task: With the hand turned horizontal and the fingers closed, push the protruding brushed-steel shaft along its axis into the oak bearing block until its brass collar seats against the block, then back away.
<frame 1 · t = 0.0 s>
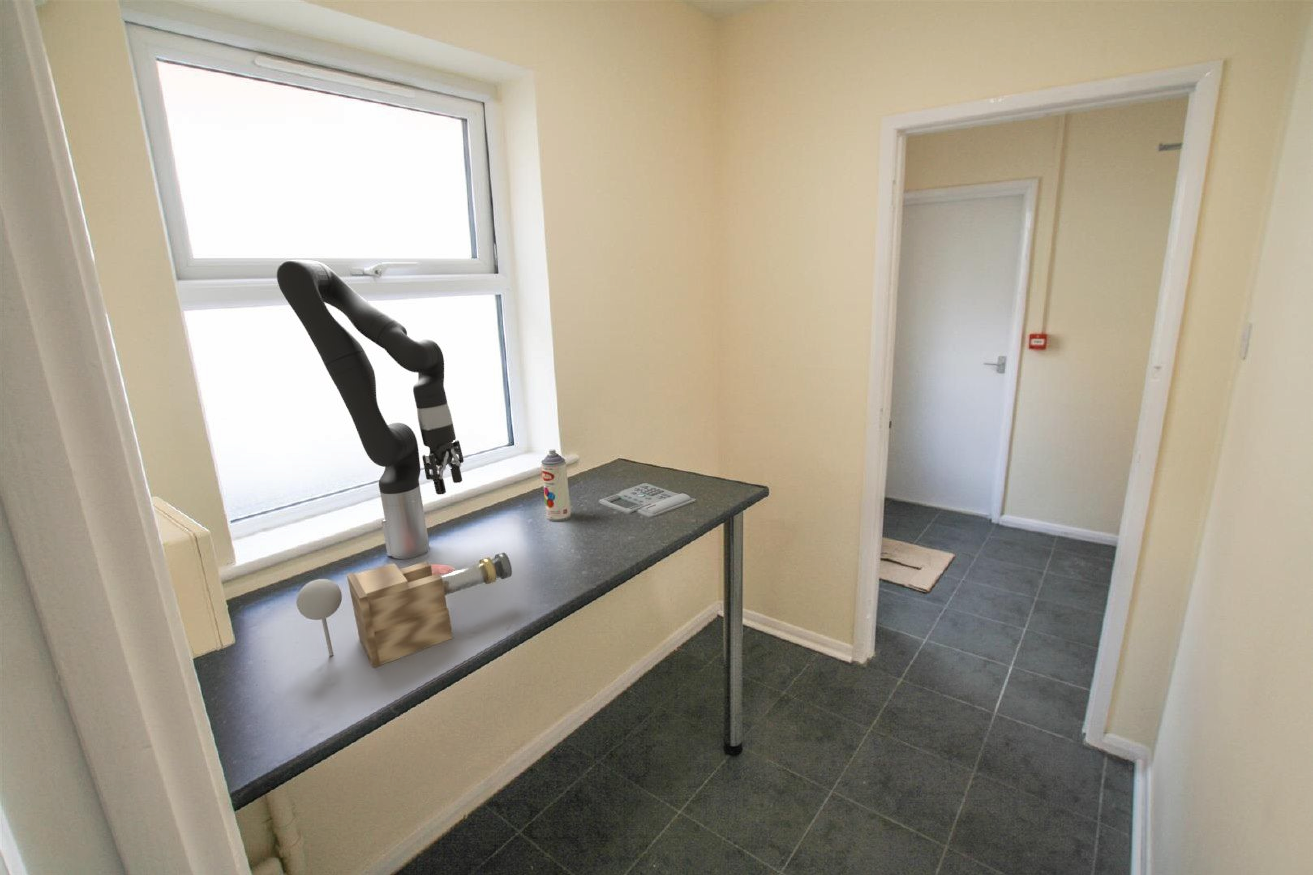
hand: (449, 487, 149), 17 cm above the counter, tool pointing down, fingers open, 8 cm apart
bearing block: (411, 636, 116), on the counter
cloth: (403, 588, 138), on the counter
lollipop: (331, 656, 112), on the counter
shaft: (465, 577, 121), point 8 cm above the counter, slide at 9.0 cm
office telephone: (646, 503, 182), on the counter
aerosol can: (559, 517, 173), on the counter
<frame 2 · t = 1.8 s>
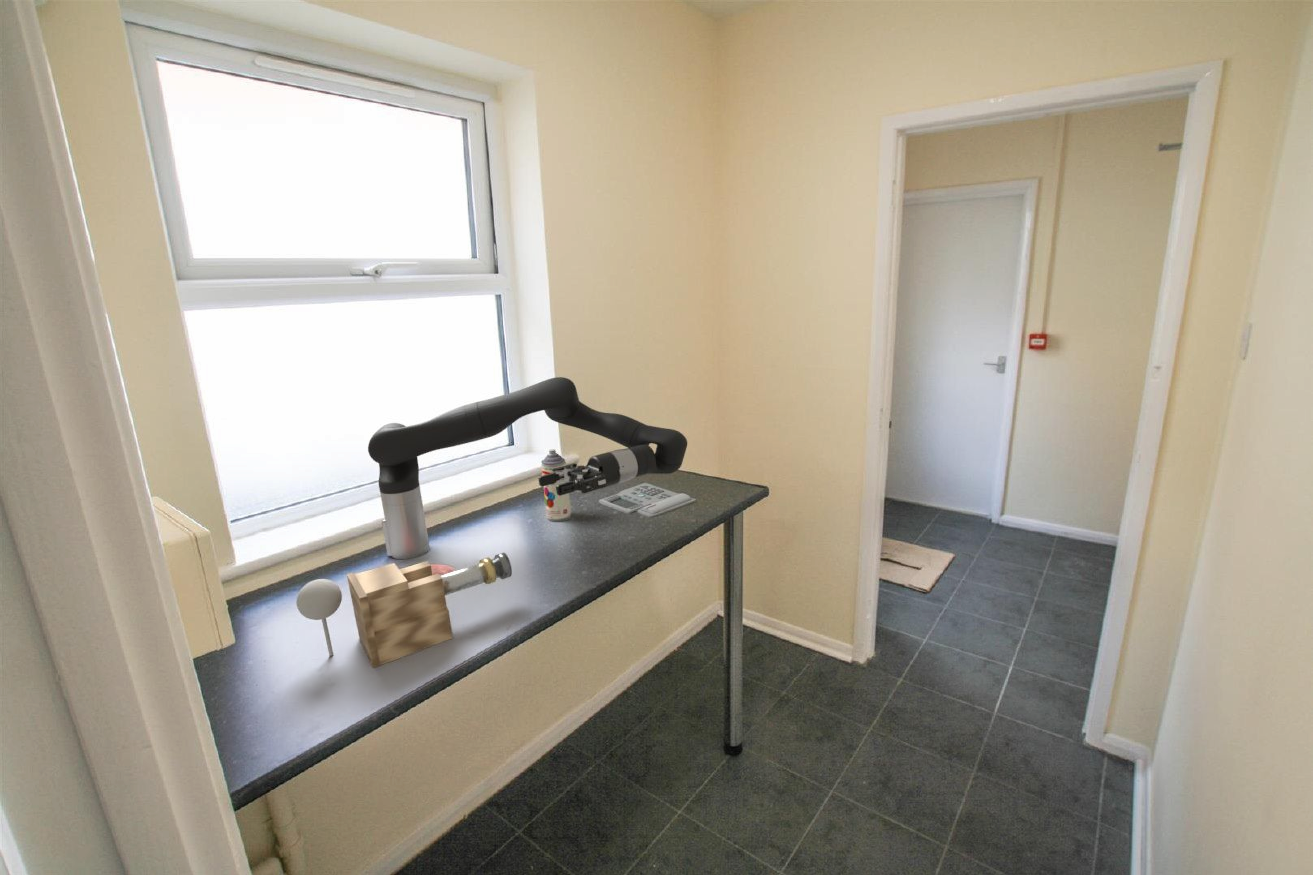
hand: (548, 486, 128), 23 cm above the counter, tool horizontal, fingers open, 8 cm apart
nothing on the counter moved.
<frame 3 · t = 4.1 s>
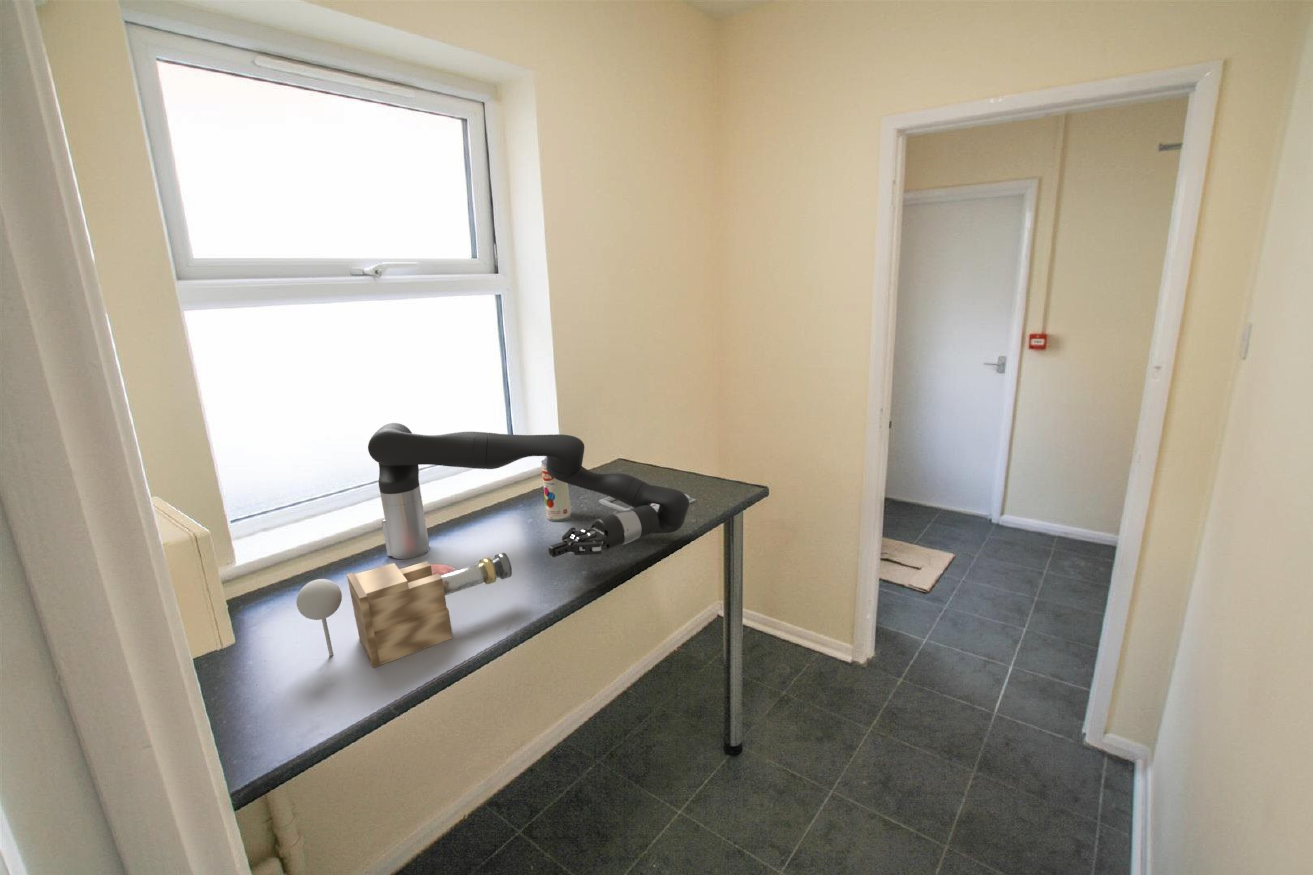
hand: (550, 552, 131), 8 cm above the counter, tool horizontal, fingers closed
nothing on the counter moved.
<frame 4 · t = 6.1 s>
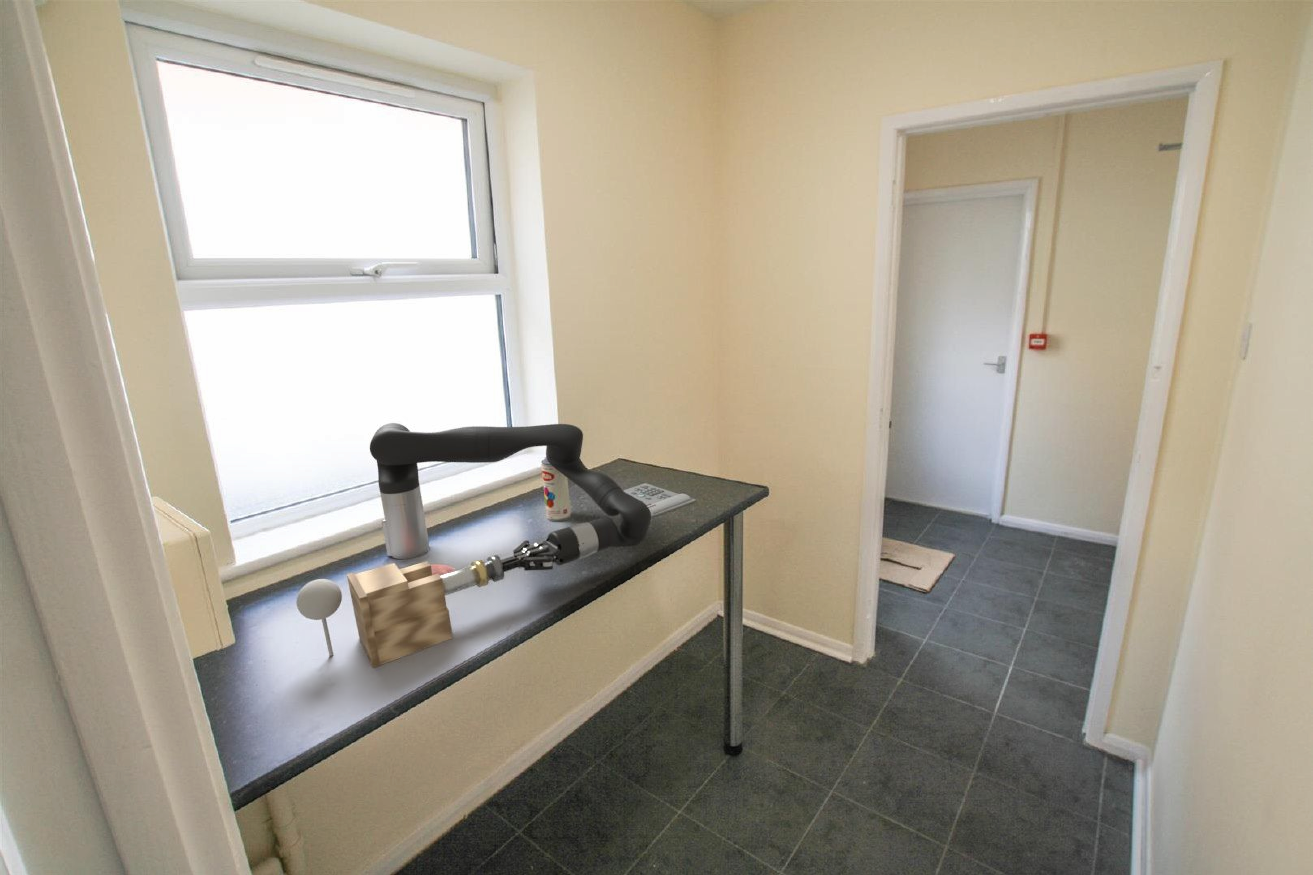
hand: (499, 567, 125), 8 cm above the counter, tool horizontal, fingers closed
shaft: (457, 580, 120), point 8 cm above the counter, slide at 7.3 cm, touching gripper
everything else where it was.
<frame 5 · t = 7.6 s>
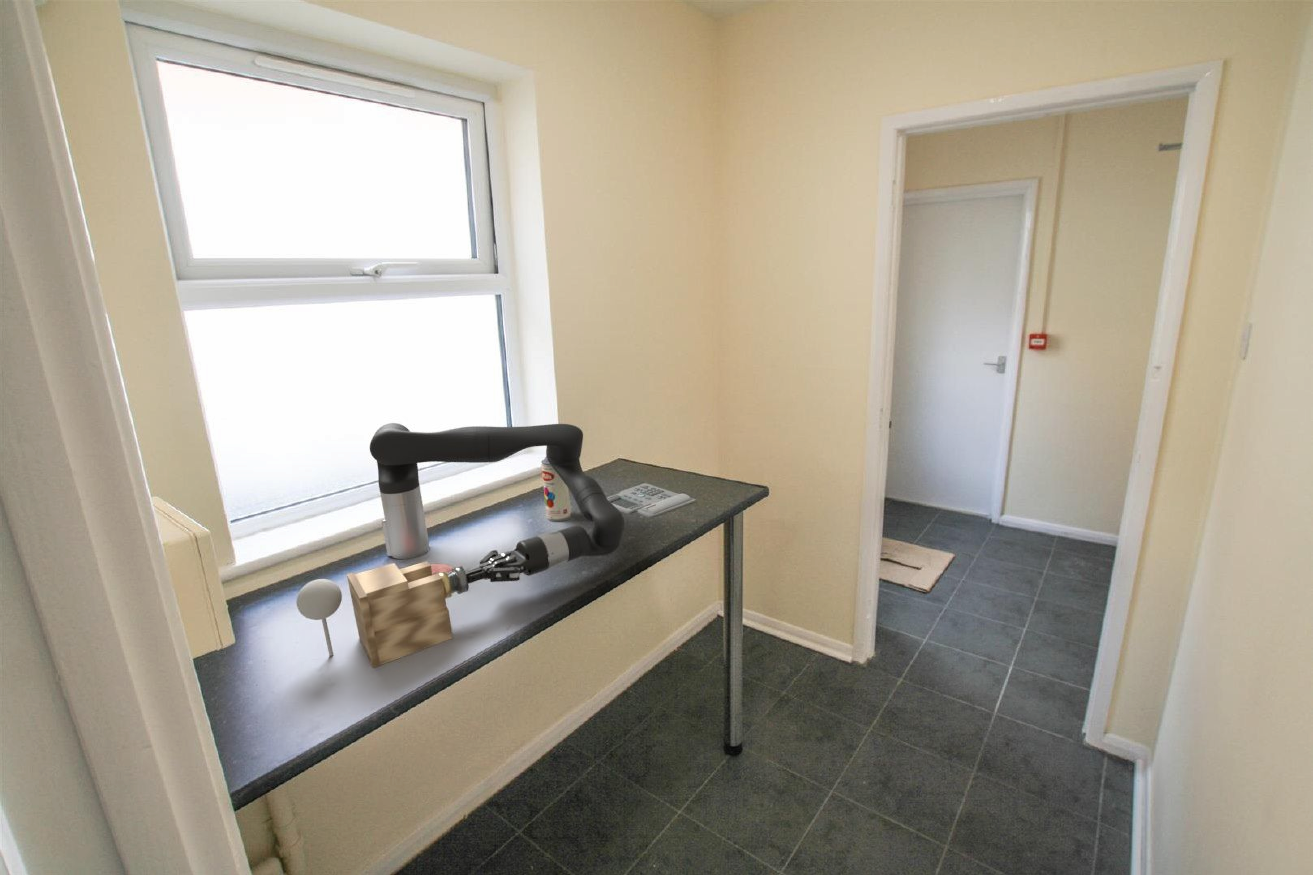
hand: (463, 578, 121), 8 cm above the counter, tool horizontal, fingers closed
shaft: (419, 593, 116), point 8 cm above the counter, slide at 0.0 cm, touching gripper
everything else where it was.
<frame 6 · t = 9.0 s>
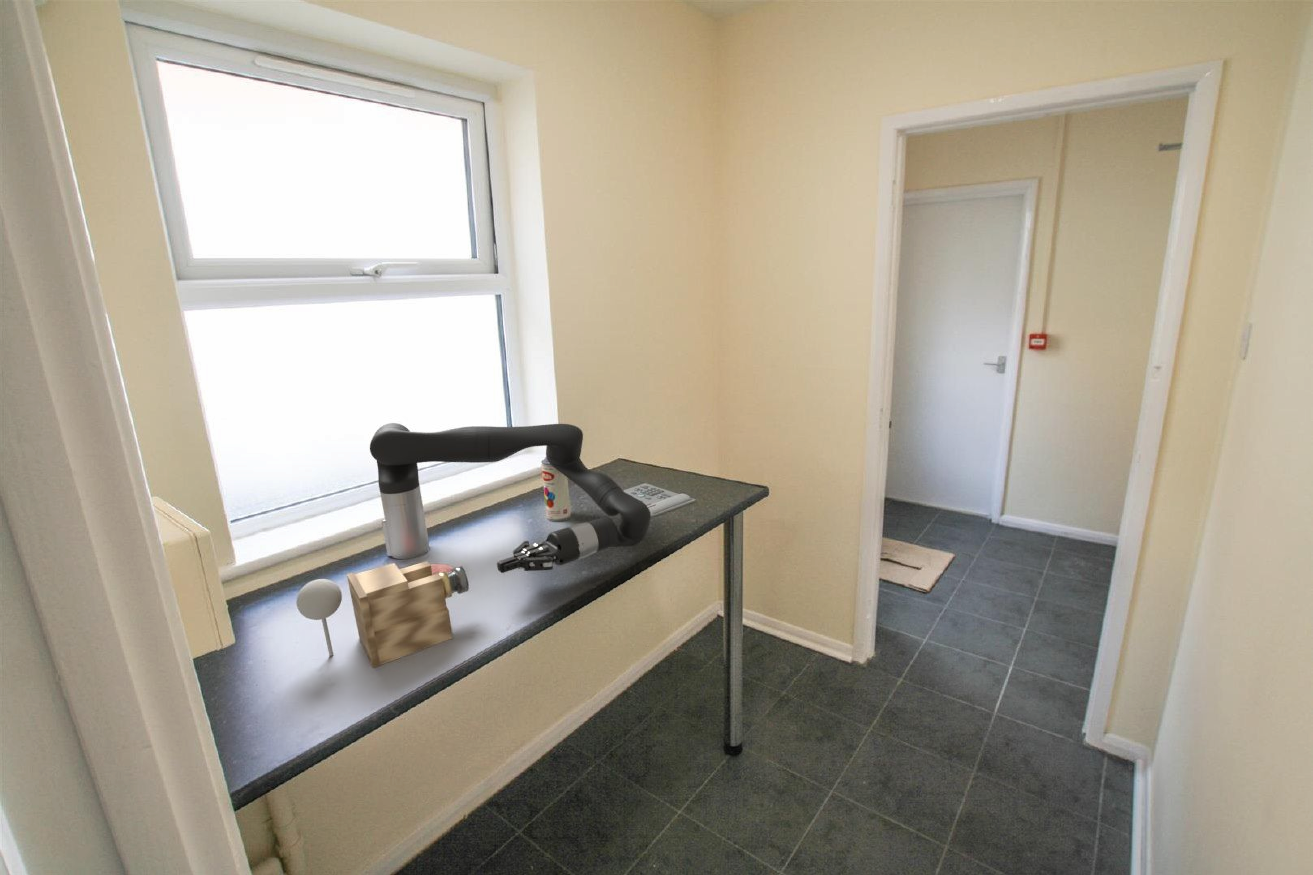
hand: (498, 567, 125), 8 cm above the counter, tool horizontal, fingers closed
shaft: (419, 593, 116), point 8 cm above the counter, slide at 0.0 cm
everything else where it was.
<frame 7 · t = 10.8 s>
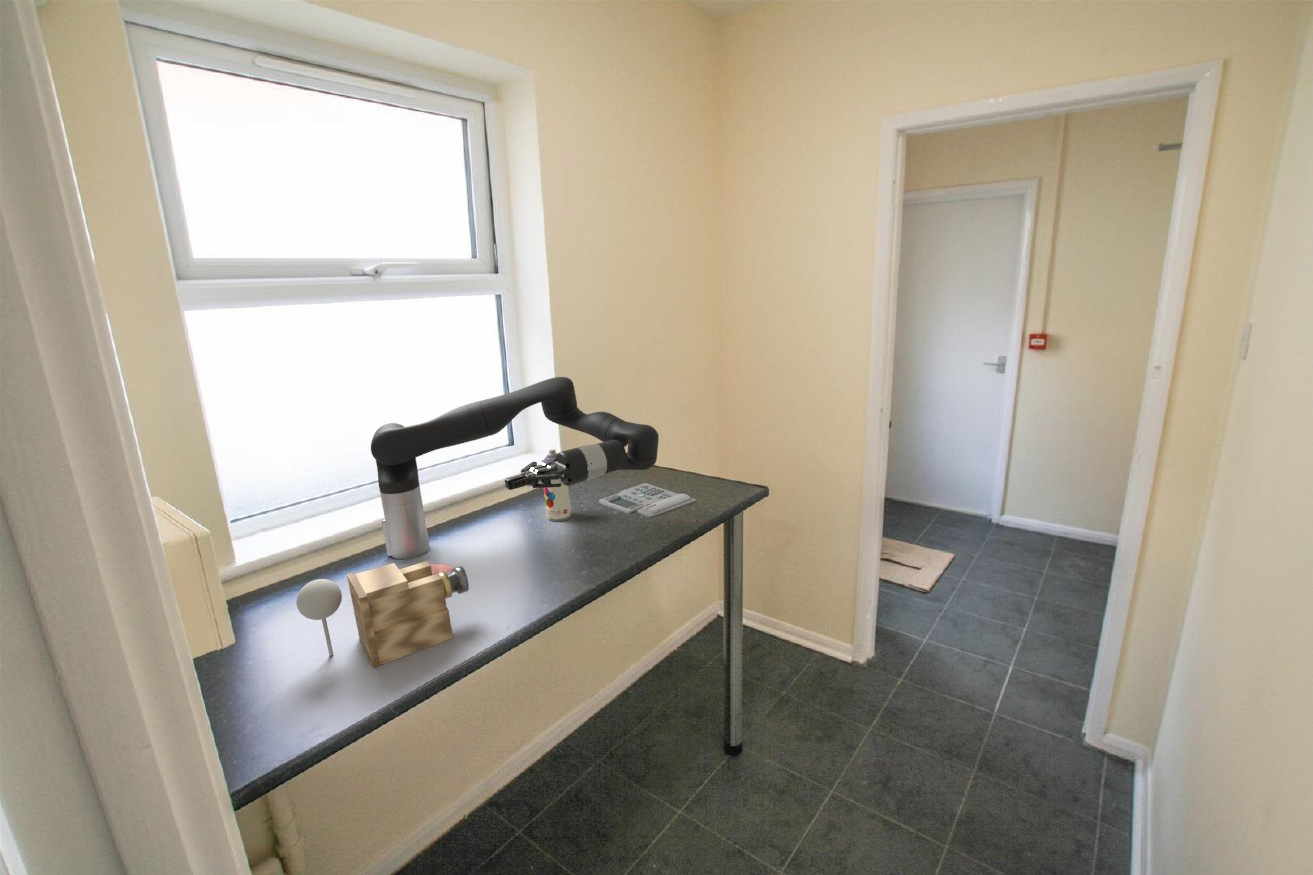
hand: (506, 484, 123), 25 cm above the counter, tool horizontal, fingers closed
nothing on the counter moved.
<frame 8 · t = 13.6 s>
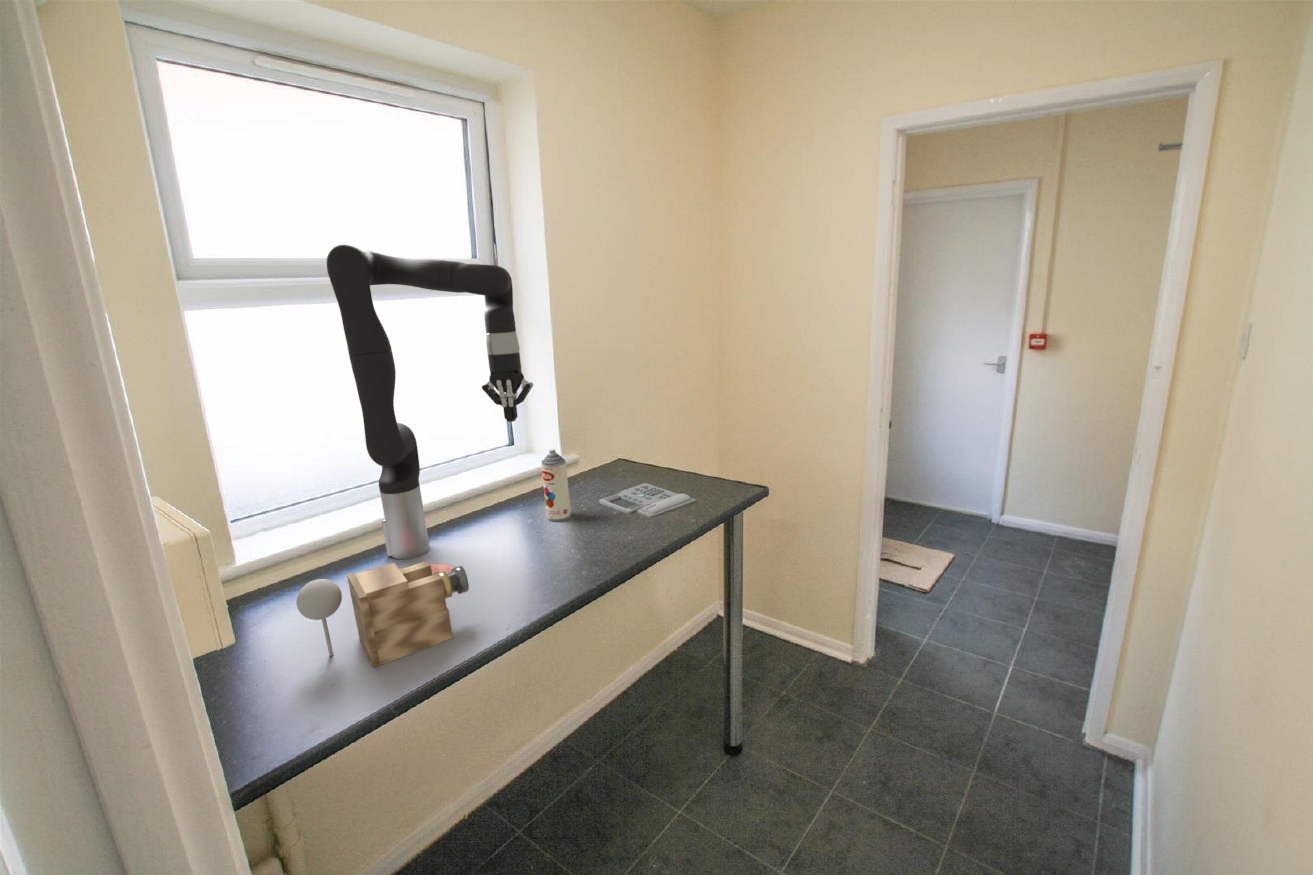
hand: (511, 420, 151), 32 cm above the counter, tool pointing down, fingers closed
nothing on the counter moved.
at the end: shaft slide at 0.0 cm; the gripper is holding nothing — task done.
